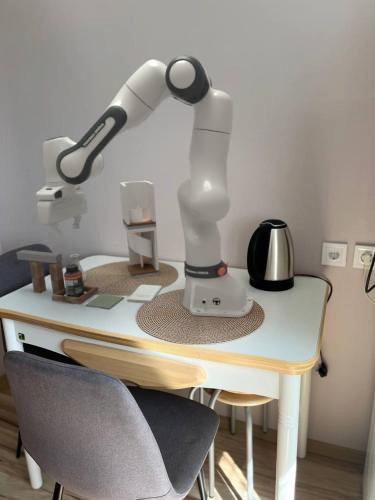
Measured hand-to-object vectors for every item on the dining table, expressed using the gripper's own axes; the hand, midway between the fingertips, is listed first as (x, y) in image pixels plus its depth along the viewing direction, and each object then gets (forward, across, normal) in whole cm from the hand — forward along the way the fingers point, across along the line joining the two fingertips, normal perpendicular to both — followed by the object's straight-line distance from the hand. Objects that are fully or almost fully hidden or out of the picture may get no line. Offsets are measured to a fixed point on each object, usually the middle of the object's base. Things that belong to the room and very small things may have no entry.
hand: (67, 232), depth 130 cm
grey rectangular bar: (+11, 0, -14) cm, 17 cm away
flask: (+23, -13, -9) cm, 28 cm away
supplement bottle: (+23, 0, 0) cm, 23 cm away
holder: (+23, 0, -6) cm, 24 cm away
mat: (+23, +1, +13) cm, 26 cm away
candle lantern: (+23, -28, +11) cm, 38 cm away
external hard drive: (+23, -8, +23) cm, 34 cm away
